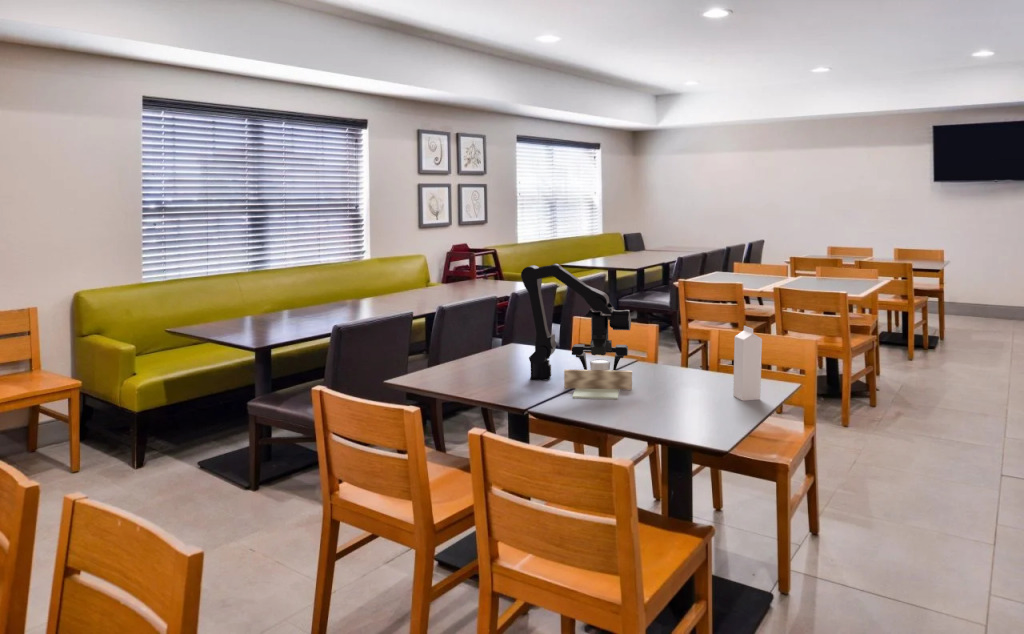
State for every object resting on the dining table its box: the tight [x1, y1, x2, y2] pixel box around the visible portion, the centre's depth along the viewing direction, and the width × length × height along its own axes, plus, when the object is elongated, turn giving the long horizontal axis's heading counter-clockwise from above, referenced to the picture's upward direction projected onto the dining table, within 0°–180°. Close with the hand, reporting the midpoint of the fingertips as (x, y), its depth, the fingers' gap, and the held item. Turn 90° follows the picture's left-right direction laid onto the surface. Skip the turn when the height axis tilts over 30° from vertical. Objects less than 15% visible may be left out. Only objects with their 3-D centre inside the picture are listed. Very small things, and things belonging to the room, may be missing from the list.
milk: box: [732, 325, 763, 402], centre depth 221 cm, size 6×6×22 cm
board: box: [563, 368, 633, 391], centre depth 238 cm, size 22×2×6 cm, turn 79°
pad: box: [572, 388, 620, 400], centre depth 230 cm, size 14×10×1 cm
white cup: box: [589, 358, 611, 370], centre depth 247 cm, size 7×7×7 cm
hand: (600, 374), depth 248 cm, fingers open, 9 cm apart
